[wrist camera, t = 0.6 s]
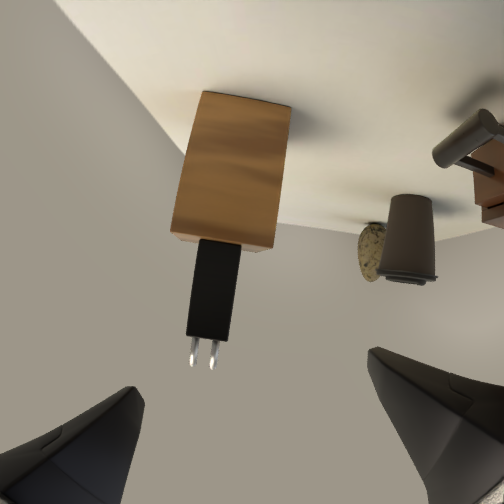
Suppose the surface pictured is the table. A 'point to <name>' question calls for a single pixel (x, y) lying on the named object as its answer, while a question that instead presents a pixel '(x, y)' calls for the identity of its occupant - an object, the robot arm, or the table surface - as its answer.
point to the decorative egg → (370, 250)
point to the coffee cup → (409, 241)
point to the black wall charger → (212, 295)
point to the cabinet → (494, 215)
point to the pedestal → (232, 172)
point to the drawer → (477, 155)
